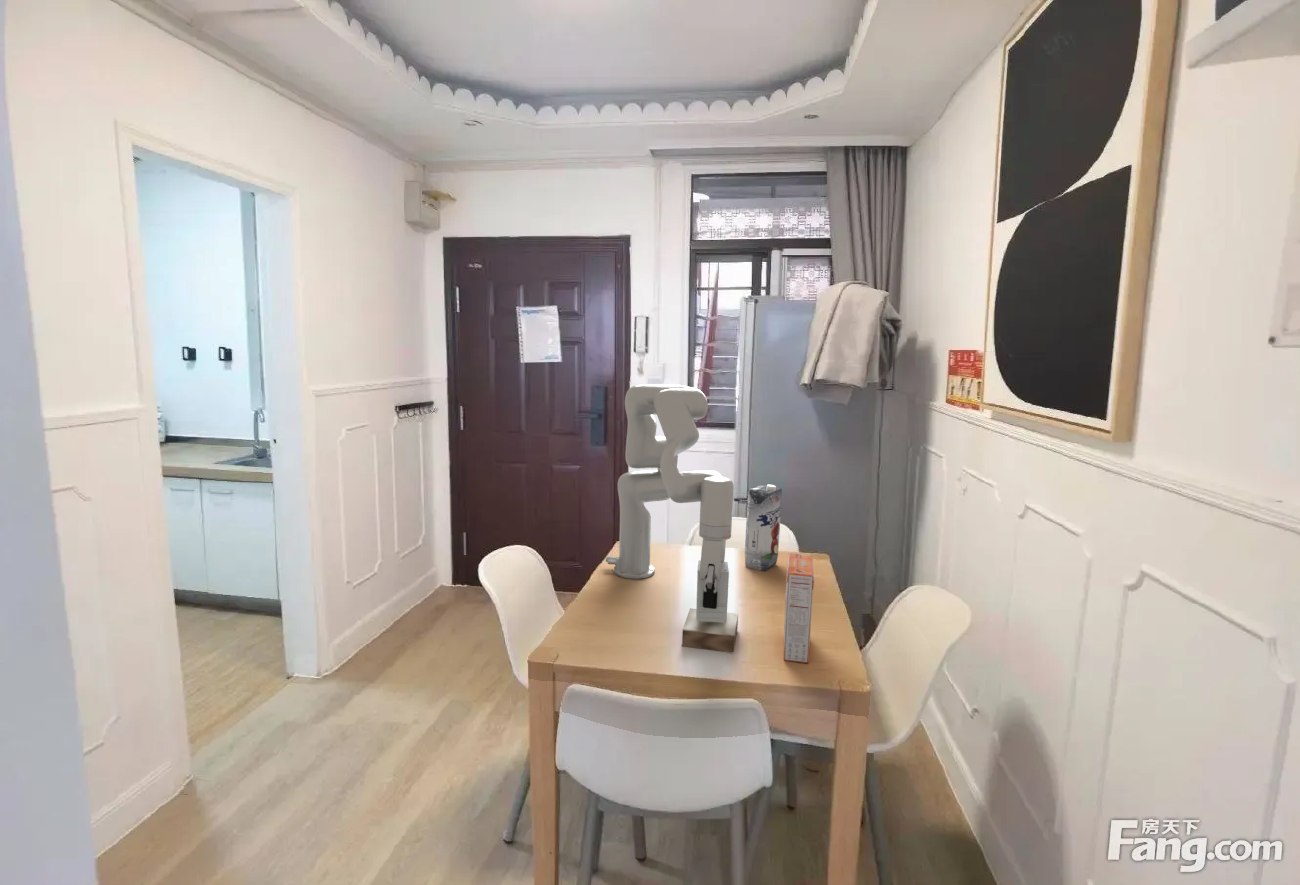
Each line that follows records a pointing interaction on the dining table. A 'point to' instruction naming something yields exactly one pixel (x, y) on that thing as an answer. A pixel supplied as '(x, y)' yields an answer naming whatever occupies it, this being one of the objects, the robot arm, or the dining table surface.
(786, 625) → the cracker box
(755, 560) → the juice carton
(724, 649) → the base block
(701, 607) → the supplement box
